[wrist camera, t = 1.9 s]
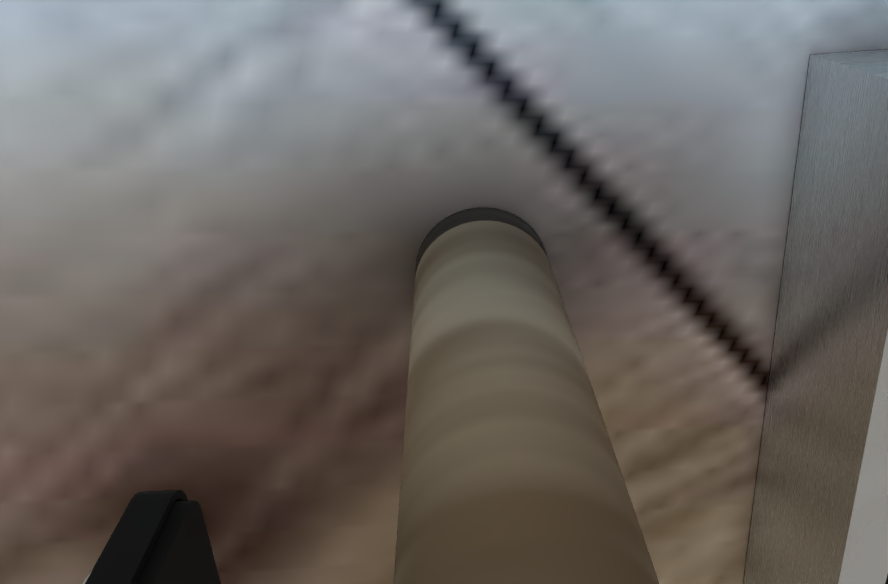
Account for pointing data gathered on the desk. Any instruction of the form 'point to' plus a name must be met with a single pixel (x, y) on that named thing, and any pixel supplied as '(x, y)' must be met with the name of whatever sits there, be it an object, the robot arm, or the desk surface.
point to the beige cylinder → (505, 425)
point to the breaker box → (830, 344)
